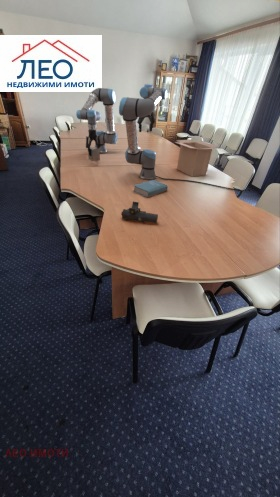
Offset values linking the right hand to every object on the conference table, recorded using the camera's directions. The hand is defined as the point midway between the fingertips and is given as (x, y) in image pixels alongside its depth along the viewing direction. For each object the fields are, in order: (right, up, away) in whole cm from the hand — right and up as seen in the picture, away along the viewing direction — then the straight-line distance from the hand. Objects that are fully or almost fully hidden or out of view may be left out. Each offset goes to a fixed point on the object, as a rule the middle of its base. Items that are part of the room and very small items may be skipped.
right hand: (145, 131), depth 213 cm
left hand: (-51, -20, +6) cm, 55 cm away
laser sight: (-6, -96, -74) cm, 121 cm away
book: (+3, -67, -34) cm, 75 cm away
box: (+47, -34, +14) cm, 60 cm away
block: (-51, -24, +9) cm, 57 cm away
